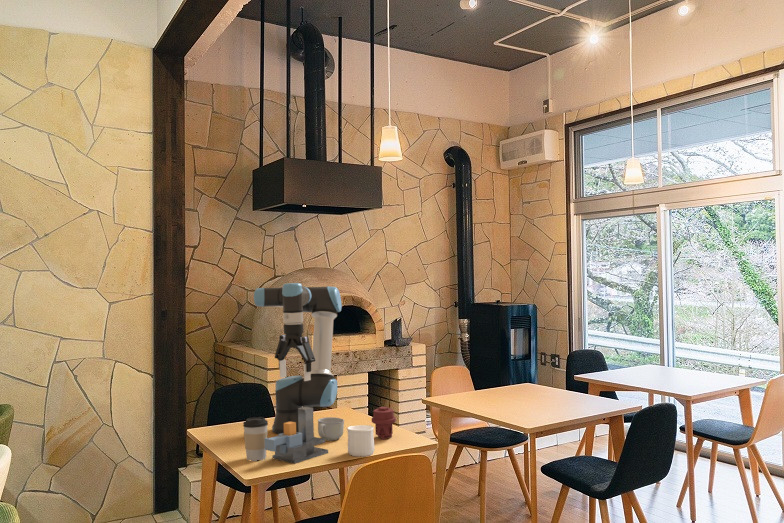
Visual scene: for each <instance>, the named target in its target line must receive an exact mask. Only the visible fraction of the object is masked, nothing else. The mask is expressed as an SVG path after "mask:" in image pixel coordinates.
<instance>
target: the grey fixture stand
mask: <svg viewBox="0 0 784 523" xmlns="http://www.w3.org/2000/svg"><path fill="white" fill-rule="evenodd" d="M314 424H315V422H314V407H312V406H303V407H302V408H298V428H299V433H302V444H301V445H297V446H294V447H291V448H289V447H286V453H285V454H284V453H280V446H279V445H277V446H276V451H275V452H274V454H272V459H273V458H274V460H278V461H281V462H285V463H290V464H294V465H296V464H299V463H301V462H304V461H308V460H310V459H314V458H317V457H321V456H323V455H326V454H329V449H326V448H321V447H317V445H320V444H324V443H326V440H325V439H322V438H321V437H316V436H315V433H314V430H315V429H314V426H315V425H314Z"/></svg>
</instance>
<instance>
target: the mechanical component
mask: <svg viewBox="0 0 784 523" xmlns="http://www.w3.org/2000/svg"><path fill="white" fill-rule="evenodd" d="M394 412H395V410H394V409H393V408H389V407H388V406H379V407H378V408H376V409H373V417H372V418H371V423H372V424H375V425H374V426H375V427H374V428H375V435H376V436H377V437H378V438H380V440H385V439H390V438H392V437H393V432H394V431H393V424H394V423H396V421H397V418H396V416H395V413H394Z"/></svg>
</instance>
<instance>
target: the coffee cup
mask: <svg viewBox="0 0 784 523" xmlns="http://www.w3.org/2000/svg"><path fill="white" fill-rule="evenodd" d="M268 422H269V421H268V420H267V419H266V418H265V417H263V416H258V417H257V416H255V417H249V418H246V420H245V421H244V422H243V423H242V424H243V425H242V427H243V438H244V447H245V454H246V461H248V460H251V461H250V462H258V461H257V460H261V461H264V460H266V459H267V450H265V438H268V432H269V431H268V425H269V423H268ZM265 458H266V459H265ZM263 459H264V460H263Z"/></svg>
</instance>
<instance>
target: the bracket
mask: <svg viewBox="0 0 784 523" xmlns="http://www.w3.org/2000/svg"><path fill="white" fill-rule="evenodd" d="M301 444H302V433H299V432H296V434H295V435H291V436H287V435H284V433H281V434H277V435H276V436H272V437H267V438H265V450H266V451H269V452H272V453H273V452H274V453H275V451H276V446H277V445H279V446H280V453H284V454H285V453H286V447H289V448H291V447H294V446H297V445H301Z"/></svg>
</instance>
